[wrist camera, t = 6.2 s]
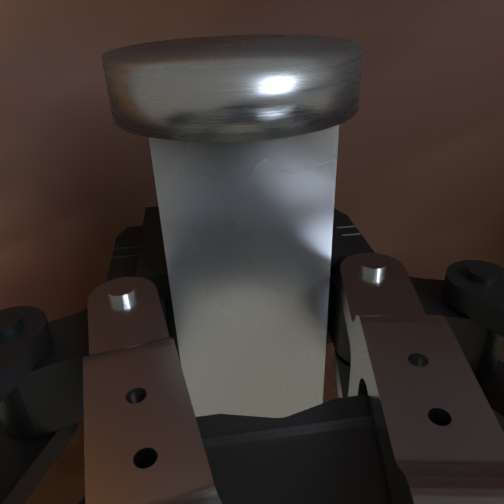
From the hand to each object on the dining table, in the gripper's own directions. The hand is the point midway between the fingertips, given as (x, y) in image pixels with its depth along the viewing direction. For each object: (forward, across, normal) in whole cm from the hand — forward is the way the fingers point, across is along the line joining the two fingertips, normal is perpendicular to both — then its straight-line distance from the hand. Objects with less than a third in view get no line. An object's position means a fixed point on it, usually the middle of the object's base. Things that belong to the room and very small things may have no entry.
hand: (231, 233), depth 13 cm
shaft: (0, 0, +10) cm, 10 cm away
